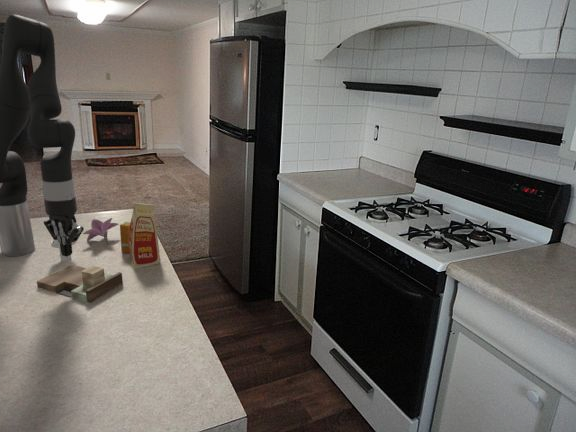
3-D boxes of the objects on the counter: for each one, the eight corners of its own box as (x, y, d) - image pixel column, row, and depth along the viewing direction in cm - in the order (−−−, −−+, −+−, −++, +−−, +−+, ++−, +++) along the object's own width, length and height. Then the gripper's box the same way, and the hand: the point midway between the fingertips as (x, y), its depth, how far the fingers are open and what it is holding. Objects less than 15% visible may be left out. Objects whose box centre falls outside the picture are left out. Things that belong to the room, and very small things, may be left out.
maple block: (83, 284, 118) (81, 271, 117) (94, 278, 122) (92, 265, 120) (94, 287, 117) (92, 274, 115) (105, 281, 120) (103, 268, 119)
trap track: (37, 287, 120) (35, 276, 118) (72, 270, 130) (71, 260, 129) (90, 302, 113) (88, 291, 112) (122, 283, 123) (121, 272, 122)
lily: (125, 238, 159) (115, 215, 158) (121, 238, 147) (110, 212, 147) (93, 252, 155) (82, 227, 155) (86, 252, 144) (75, 226, 144)
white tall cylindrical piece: (48, 261, 136) (41, 217, 131) (67, 253, 142) (60, 210, 137) (65, 265, 133) (58, 220, 128) (83, 257, 139) (77, 214, 135)
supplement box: (130, 253, 143) (128, 225, 140) (121, 252, 144) (118, 224, 141) (135, 249, 146) (133, 222, 143) (126, 248, 147) (124, 221, 144)
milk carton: (133, 268, 133) (128, 207, 127) (129, 256, 141) (123, 199, 135) (163, 263, 137) (159, 203, 131) (157, 252, 145) (153, 196, 139)
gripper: (29, 195, 112) (38, 254, 118) (65, 203, 107) (73, 265, 113) (54, 188, 119) (61, 245, 124) (89, 196, 114) (95, 255, 120)
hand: (67, 255), depth 119 cm, fingers closed
